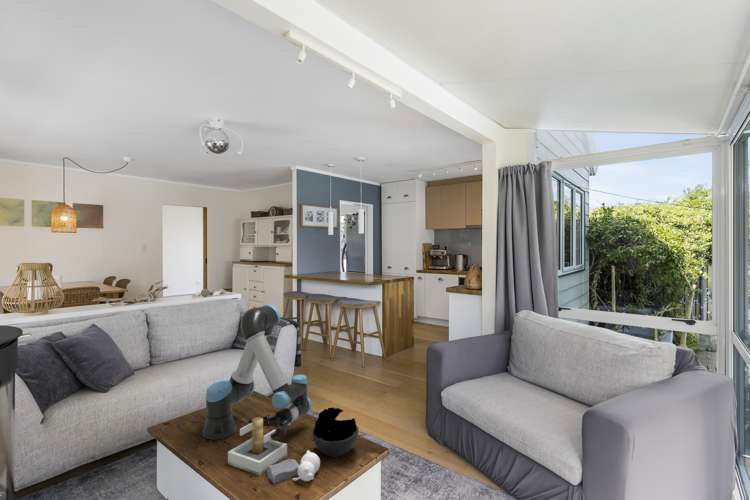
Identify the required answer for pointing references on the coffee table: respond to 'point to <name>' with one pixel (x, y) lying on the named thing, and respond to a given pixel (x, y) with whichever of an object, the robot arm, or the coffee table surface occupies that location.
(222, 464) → the coffee table surface
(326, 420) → the coal bowl
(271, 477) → the stone block
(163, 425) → the coffee table surface
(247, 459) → the hole box
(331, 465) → the coffee table surface
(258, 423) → the peg
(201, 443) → the coffee table surface
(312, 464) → the cat figurine
